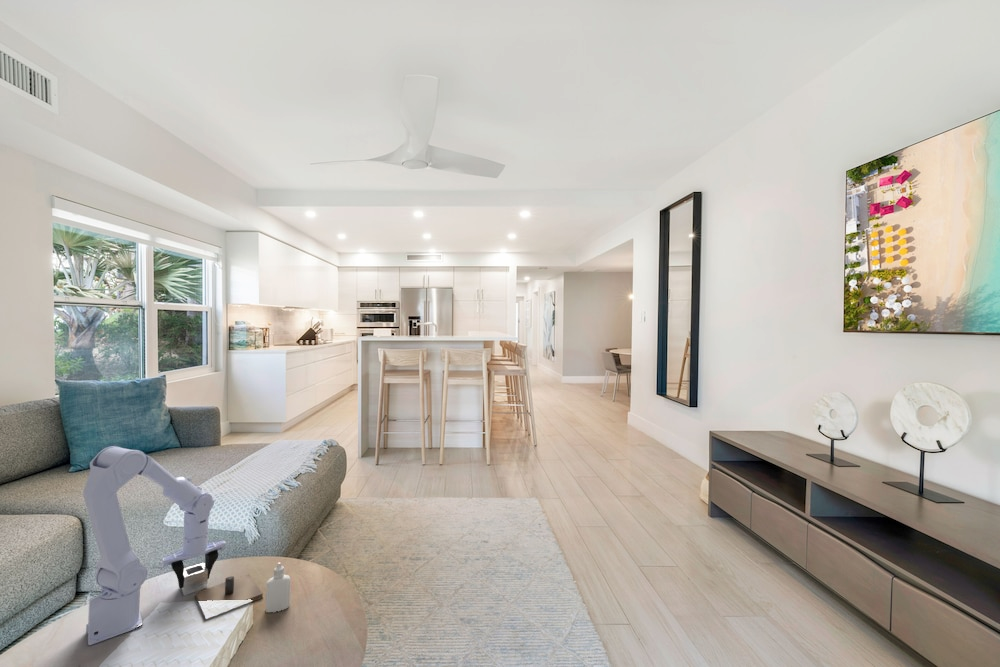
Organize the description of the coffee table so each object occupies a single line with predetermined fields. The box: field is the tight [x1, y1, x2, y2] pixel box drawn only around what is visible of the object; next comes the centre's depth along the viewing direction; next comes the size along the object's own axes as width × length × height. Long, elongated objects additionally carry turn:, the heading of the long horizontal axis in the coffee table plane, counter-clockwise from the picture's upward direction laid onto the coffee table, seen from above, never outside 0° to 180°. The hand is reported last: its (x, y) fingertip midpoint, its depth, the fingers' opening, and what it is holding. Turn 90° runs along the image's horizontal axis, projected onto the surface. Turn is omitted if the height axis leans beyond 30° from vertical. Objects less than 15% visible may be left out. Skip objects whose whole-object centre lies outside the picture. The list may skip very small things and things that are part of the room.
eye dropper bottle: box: [265, 562, 291, 613], centre depth 109 cm, size 4×6×12 cm
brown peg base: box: [195, 573, 264, 602], centre depth 113 cm, size 13×13×5 cm
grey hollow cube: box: [180, 562, 209, 596], centre depth 117 cm, size 5×5×5 cm
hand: (194, 582), depth 117 cm, fingers closed on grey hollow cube, 5 cm apart
